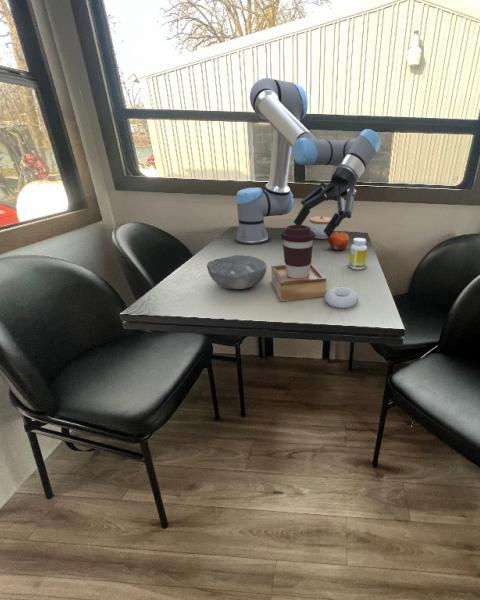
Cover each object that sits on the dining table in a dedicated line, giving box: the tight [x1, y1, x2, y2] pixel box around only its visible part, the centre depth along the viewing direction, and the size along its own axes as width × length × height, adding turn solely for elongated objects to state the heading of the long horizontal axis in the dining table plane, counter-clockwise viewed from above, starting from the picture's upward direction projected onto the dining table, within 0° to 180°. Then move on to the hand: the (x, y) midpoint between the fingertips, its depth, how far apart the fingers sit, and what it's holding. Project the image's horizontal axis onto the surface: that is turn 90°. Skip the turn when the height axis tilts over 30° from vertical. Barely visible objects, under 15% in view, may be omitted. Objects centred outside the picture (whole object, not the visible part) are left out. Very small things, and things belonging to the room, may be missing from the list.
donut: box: [323, 286, 359, 309], centre depth 88 cm, size 10×4×10 cm
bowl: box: [206, 254, 267, 290], centre depth 94 cm, size 18×18×8 cm
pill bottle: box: [349, 237, 368, 270], centre depth 113 cm, size 6×6×11 cm
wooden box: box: [270, 262, 327, 302], centre depth 94 cm, size 14×14×6 cm
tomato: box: [328, 230, 350, 251], centre depth 134 cm, size 9×9×8 cm
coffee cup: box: [280, 224, 316, 279], centre depth 89 cm, size 10×10×15 cm
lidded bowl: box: [308, 214, 332, 240], centre depth 151 cm, size 13×13×11 cm
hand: (310, 229), depth 90 cm, fingers open, 13 cm apart
